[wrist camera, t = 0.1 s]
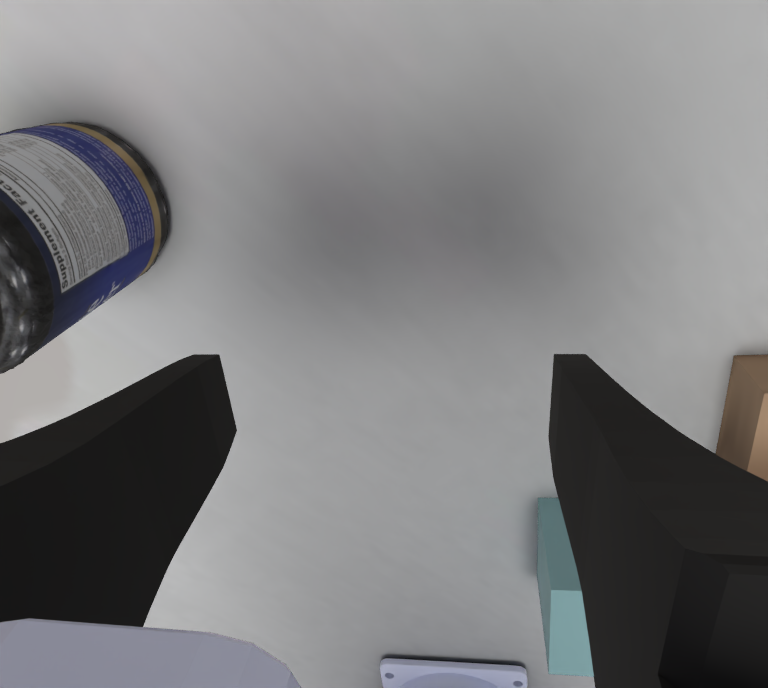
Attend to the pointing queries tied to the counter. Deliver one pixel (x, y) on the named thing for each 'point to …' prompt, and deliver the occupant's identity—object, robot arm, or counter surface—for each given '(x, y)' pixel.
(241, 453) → the counter surface
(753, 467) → the walnut block
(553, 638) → the teal cube
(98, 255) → the pill bottle
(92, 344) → the counter surface
